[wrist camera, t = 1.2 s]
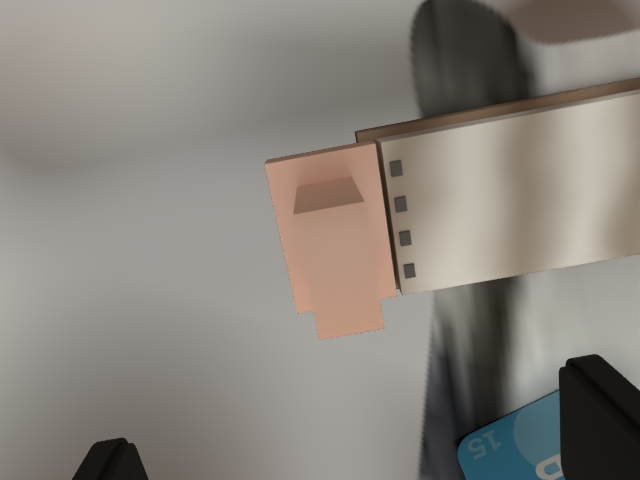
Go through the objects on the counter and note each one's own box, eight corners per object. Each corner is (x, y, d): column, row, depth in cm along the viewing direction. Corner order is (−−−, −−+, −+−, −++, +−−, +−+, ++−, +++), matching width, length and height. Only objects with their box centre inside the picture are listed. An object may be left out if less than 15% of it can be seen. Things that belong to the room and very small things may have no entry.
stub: (371, 140, 25) (396, 158, 18) (392, 284, 28) (420, 351, 21) (267, 159, 26) (249, 186, 18) (297, 301, 28) (293, 373, 21)
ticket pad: (658, 74, 26) (712, 70, 23) (650, 234, 29) (697, 253, 26) (354, 131, 27) (361, 136, 23) (378, 282, 30) (387, 307, 26)
